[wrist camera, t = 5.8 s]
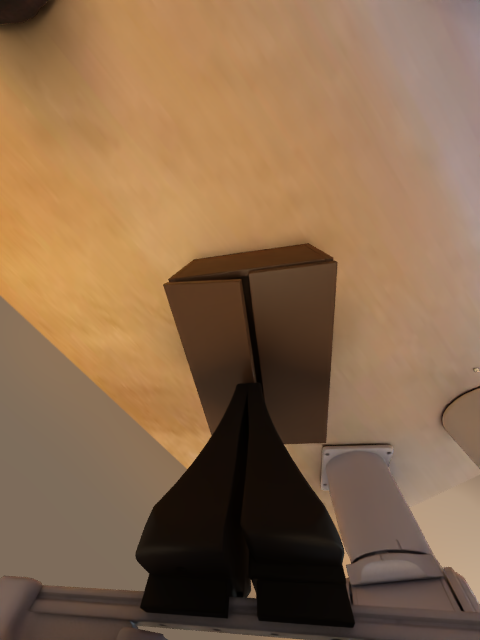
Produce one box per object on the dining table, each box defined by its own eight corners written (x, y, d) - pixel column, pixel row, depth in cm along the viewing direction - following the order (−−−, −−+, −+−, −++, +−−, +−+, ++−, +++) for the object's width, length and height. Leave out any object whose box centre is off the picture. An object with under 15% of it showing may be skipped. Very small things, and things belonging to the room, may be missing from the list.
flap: (267, 454, 16) (266, 460, 15) (217, 441, 17) (214, 446, 17) (241, 278, 10) (239, 281, 9) (167, 282, 11) (162, 284, 11)
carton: (308, 384, 21) (327, 443, 16) (224, 389, 22) (214, 446, 17) (308, 243, 15) (339, 260, 10) (193, 259, 16) (162, 283, 11)
